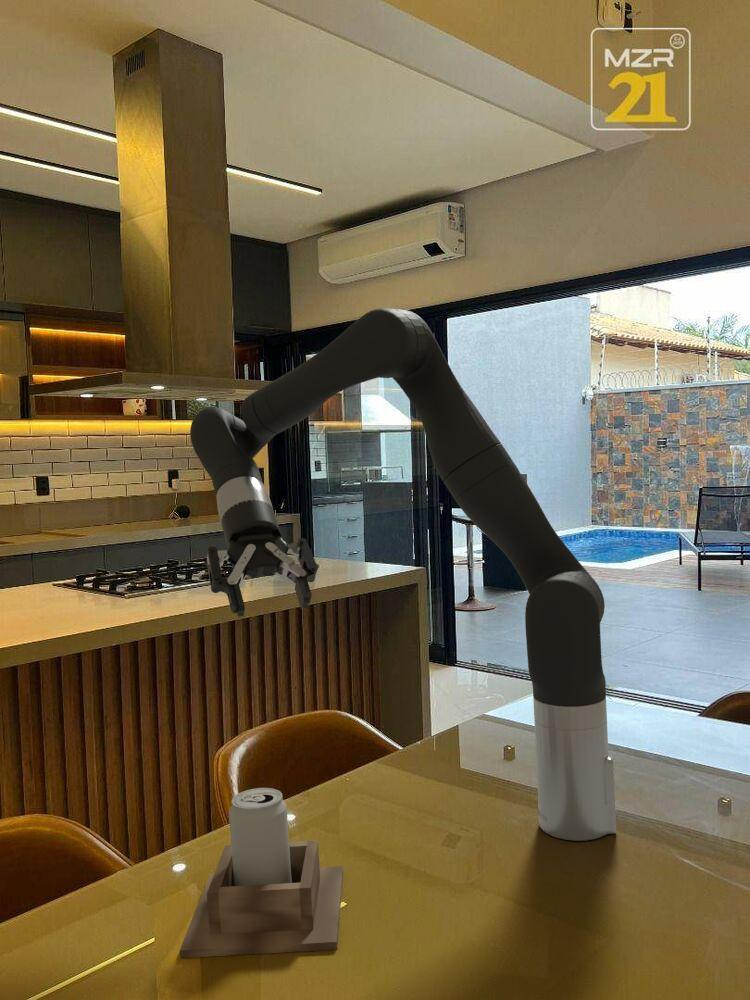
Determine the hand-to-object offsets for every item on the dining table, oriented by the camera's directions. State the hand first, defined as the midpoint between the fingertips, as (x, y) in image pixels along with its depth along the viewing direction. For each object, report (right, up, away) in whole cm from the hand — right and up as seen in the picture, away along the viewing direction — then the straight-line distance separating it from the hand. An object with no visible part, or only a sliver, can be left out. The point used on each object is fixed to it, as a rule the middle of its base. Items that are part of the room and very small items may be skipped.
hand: (274, 609), depth 112 cm
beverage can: (+1, -31, -15) cm, 35 cm away
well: (+1, -32, -16) cm, 35 cm away
